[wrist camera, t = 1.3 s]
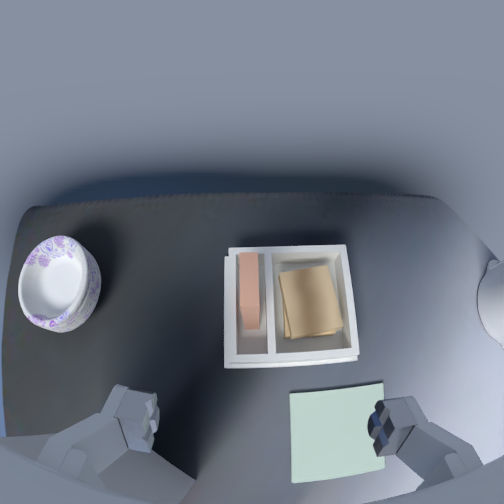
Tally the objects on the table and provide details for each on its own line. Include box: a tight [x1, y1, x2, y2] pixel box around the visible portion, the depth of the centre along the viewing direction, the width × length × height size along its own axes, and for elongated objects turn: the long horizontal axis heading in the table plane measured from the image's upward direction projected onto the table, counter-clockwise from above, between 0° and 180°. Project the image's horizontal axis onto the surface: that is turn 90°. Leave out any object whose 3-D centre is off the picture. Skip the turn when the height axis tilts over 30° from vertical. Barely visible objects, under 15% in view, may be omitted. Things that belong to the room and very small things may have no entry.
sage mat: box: [290, 383, 385, 483], centre depth 36 cm, size 14×14×1 cm
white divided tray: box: [224, 245, 359, 368], centre depth 42 cm, size 19×17×5 cm
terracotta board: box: [239, 252, 260, 330], centre depth 38 cm, size 2×6×13 cm, turn 1°
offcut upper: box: [278, 265, 343, 339], centre depth 41 cm, size 7×9×2 cm
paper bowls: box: [18, 236, 101, 332], centre depth 42 cm, size 15×15×8 cm
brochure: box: [0, 433, 196, 504], centre depth 21 cm, size 14×6×30 cm, turn 57°
